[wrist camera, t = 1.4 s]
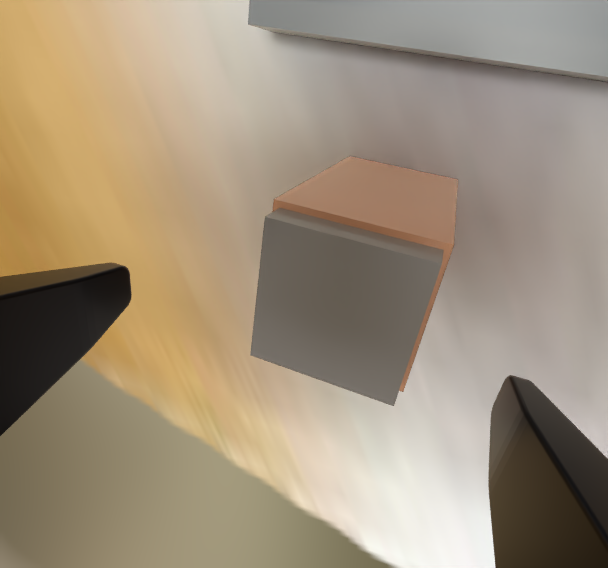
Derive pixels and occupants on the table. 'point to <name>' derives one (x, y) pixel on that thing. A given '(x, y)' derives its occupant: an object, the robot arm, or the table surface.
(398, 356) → the tall box
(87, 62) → the table surface
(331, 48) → the table surface
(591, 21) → the tray
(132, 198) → the table surface
